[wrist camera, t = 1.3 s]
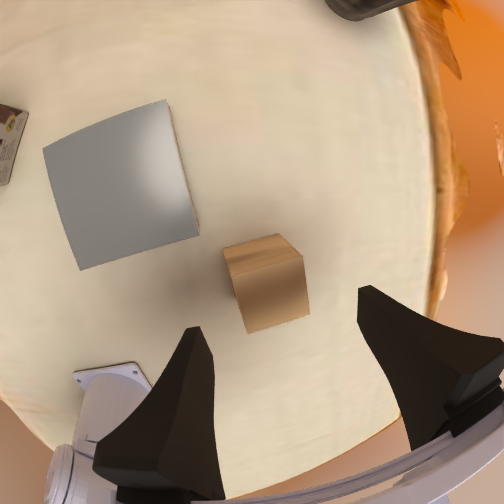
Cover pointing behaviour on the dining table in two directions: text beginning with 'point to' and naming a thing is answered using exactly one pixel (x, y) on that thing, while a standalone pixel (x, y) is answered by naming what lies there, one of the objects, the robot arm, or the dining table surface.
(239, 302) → the oak block
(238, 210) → the dining table surface
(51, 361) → the dining table surface
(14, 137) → the coffee box
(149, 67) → the dining table surface
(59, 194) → the slate base
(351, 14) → the beverage cup
